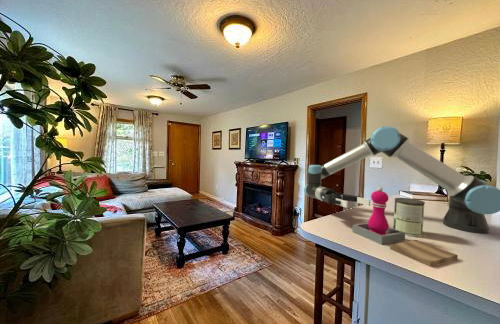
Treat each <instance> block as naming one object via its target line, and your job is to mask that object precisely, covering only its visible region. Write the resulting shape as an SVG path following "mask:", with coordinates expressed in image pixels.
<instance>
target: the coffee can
mask: <svg viewBox="0 0 500 324" xmlns="http://www.w3.org/2000/svg"><path fill="white" fill-rule="evenodd" d="M425 204H426V202H425V201H424V200H420V199H415V198H410V197H409V198H407V197H395V198H394V212H393V227H392V228H393V229H396V230H399V231H402V232H405V236H407V237H414V238H421V237H423V236H424V235H423V232H424V231H423V230H424V217H425V215H424V214H425Z"/></svg>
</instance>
